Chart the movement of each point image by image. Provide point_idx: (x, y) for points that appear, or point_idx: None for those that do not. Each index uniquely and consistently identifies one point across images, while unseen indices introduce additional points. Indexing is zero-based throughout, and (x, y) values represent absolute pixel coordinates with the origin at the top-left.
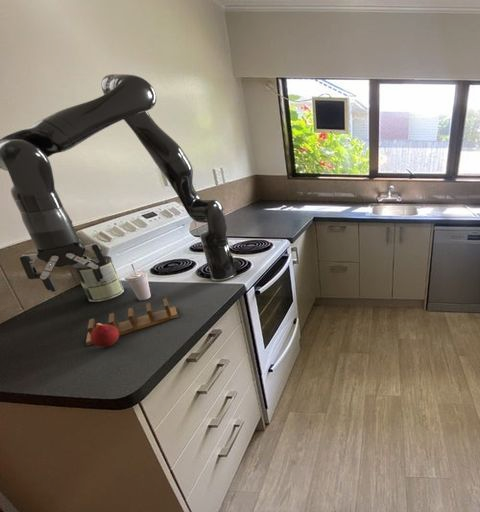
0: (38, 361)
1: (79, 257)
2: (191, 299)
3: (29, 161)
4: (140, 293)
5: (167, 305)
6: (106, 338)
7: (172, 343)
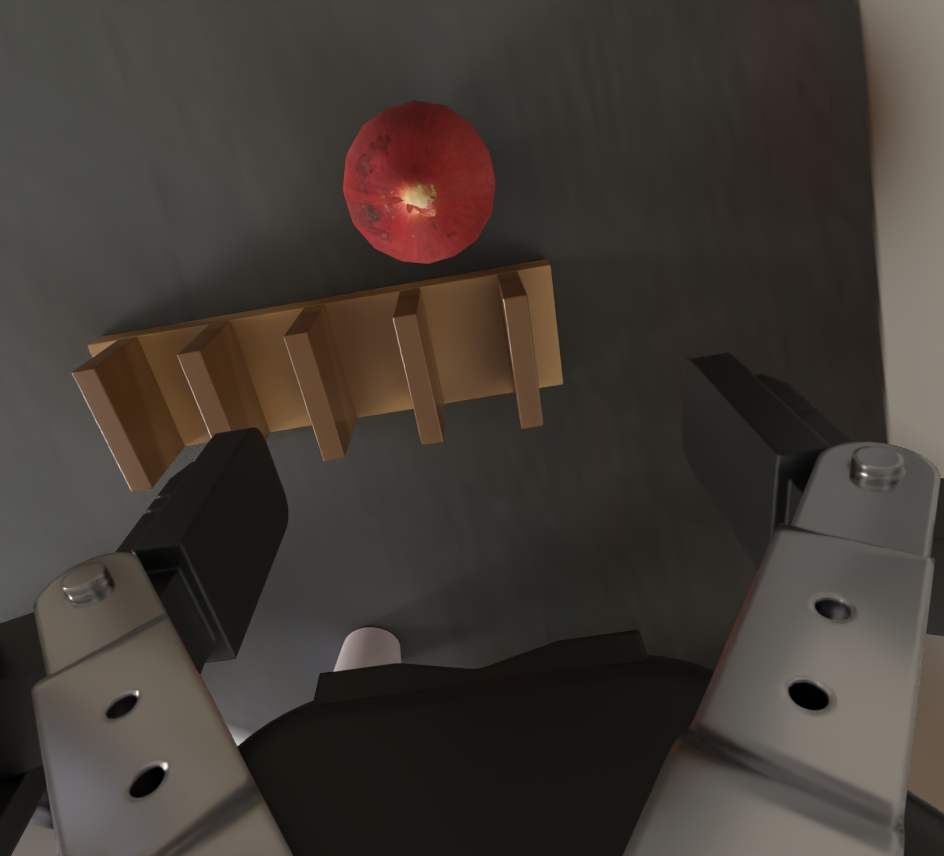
0: (752, 222)
1: (63, 837)
2: (90, 520)
3: None
4: (366, 660)
5: (75, 372)
6: (389, 110)
7: None
